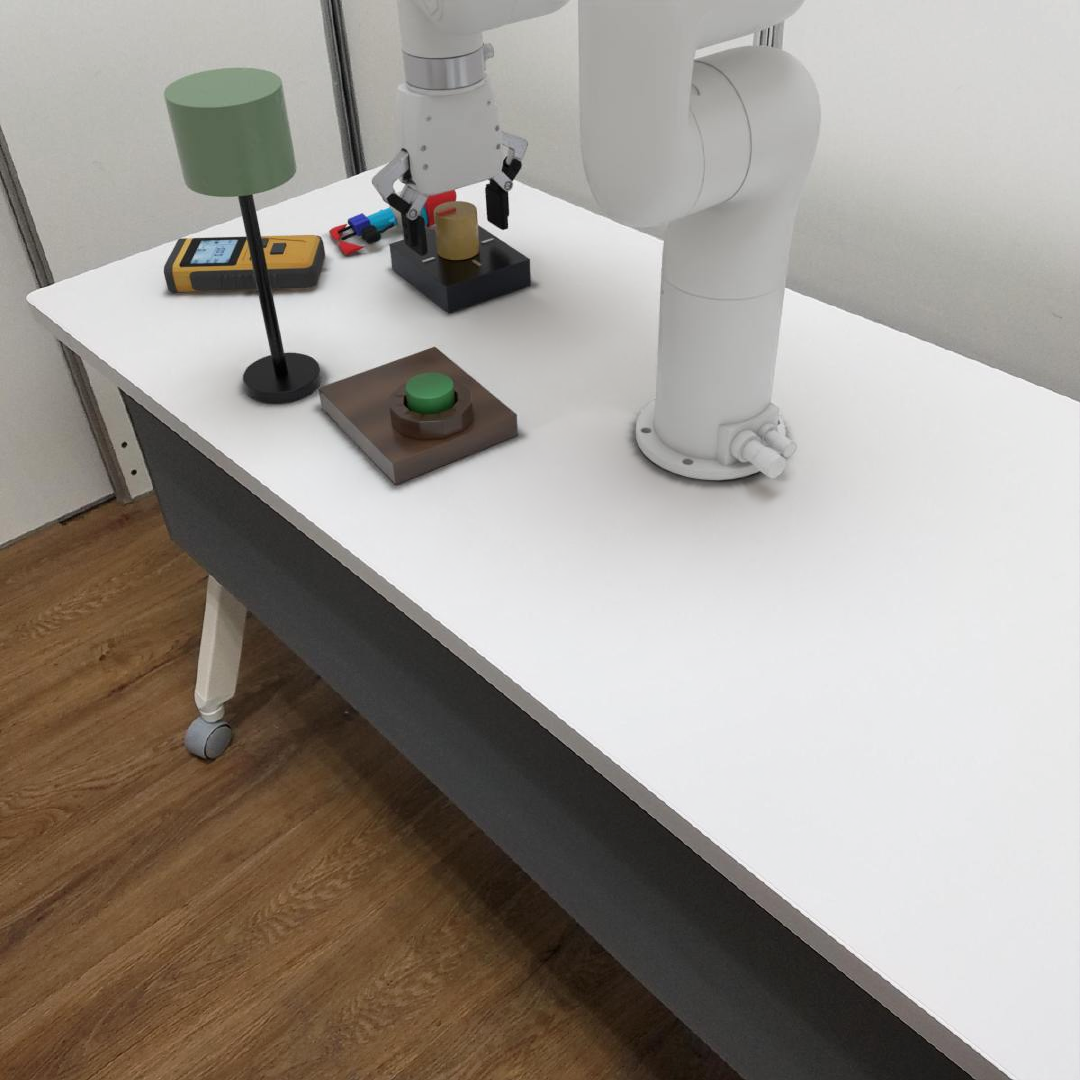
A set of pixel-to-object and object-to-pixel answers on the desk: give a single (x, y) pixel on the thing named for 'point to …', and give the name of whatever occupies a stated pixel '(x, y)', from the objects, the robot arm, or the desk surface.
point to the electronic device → (243, 263)
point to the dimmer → (456, 230)
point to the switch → (430, 393)
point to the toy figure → (384, 222)
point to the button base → (416, 416)
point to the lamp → (243, 188)
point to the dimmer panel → (463, 271)
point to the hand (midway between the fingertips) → (458, 237)
